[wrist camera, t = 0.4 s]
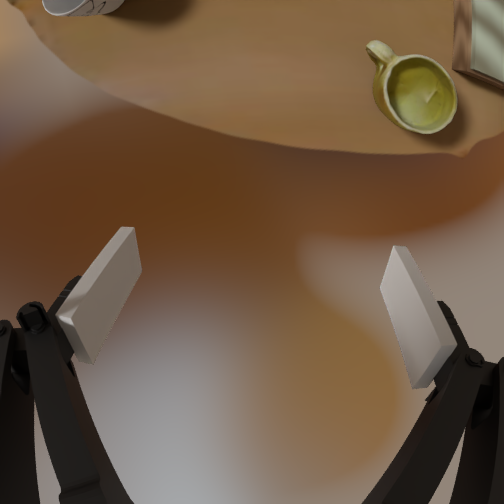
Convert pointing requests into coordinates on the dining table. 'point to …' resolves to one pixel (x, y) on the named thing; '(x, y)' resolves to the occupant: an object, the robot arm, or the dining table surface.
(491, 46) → the podium
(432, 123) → the mug
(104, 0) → the mug
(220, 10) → the dining table surface
